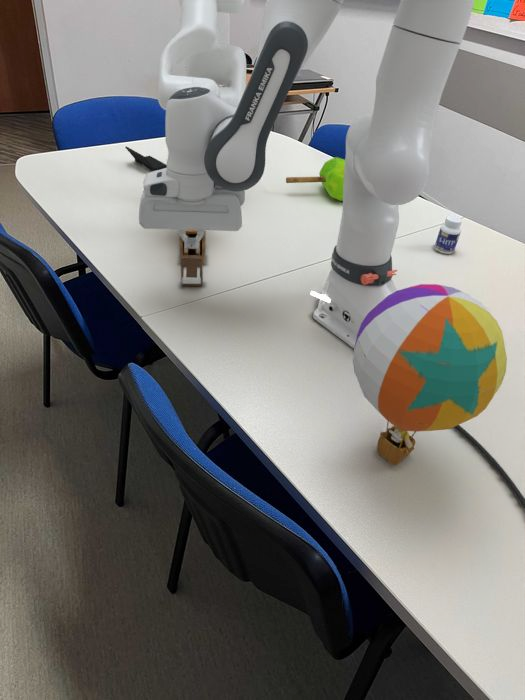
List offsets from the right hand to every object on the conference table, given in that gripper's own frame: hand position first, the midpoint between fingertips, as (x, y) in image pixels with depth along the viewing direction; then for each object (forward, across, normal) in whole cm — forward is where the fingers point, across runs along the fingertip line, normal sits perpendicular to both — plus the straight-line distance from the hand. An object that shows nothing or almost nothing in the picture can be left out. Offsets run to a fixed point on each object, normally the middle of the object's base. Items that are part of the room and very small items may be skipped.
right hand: (191, 247), depth 107 cm
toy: (+12, -32, +46) cm, 57 cm away
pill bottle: (+12, -67, -24) cm, 72 cm away
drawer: (+11, 0, -9) cm, 14 cm away
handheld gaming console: (+12, +16, -78) cm, 80 cm away
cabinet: (+11, 0, -22) cm, 25 cm away
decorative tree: (+12, -43, -59) cm, 74 cm away
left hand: (+5, 0, -26) cm, 26 cm away
